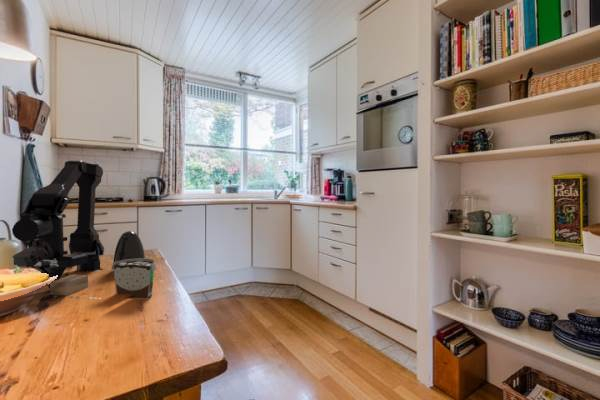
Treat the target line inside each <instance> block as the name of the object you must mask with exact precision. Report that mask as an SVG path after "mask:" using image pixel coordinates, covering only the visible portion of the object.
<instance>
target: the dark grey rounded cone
mask: <svg viewBox="0 0 600 400" xmlns="http://www.w3.org/2000/svg"><path fill="white" fill-rule="evenodd" d="M137 258H146V253H145V248H144V245H143V242H142V240H141V238H140V236H139V235H138V234H137V233H136V232H135V231H131V230H128V231H124V232H123V233H122V234H121V235H120V236H119V238H118V241H117V243H116V246H115V248H114V254H113V260H112V263H113V262H117V261H121V260H127V259H137Z"/></svg>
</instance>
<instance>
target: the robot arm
mask: <svg viewBox="0 0 600 400" xmlns="http://www.w3.org/2000/svg"><path fill="white" fill-rule="evenodd" d="M103 175H104V170H103V167H102V166H100V165H99V164H98V163H91V162H90V163H89V162H86V161H83V160H68V161H67V160H66V161H65V162H64V165H63V168H61V170H60V171H59V173H58V174H57V175H56V176H55V178H54V179H53V180H52V181H51V183H50V184H48V185H46V186H43V187H39V189H37V190H36V191H35V192H34V193H33V194H31V196H30V199H28V202H27V205H26V207H25V209H24V210H23V214H21V219H19V220H17V221H16V222H15V224H14V225H13V227H12V229H11V230H12V231H11V232H12V235H13V236H14V237H15V239H16V240H19V241H22V242H30V241H31V246H30V247H27V248H25V249H23V250H20V251H19V252H17V253H16V254H14V255H12V258H13V266H17V267H18V268H21V267H24V268H31V269H33V270H36V271H38V272H40V274H41V273H47V274H49V277H53V276H56V275H58V277H57V279H55V280H58V279H61V278H62V276H63V274H64V273H65V271H66V270H67V269H68V268H73V267H76V270H77V271H79V272H81V273H82V272H95V271H97V270H98V271H103V270H104V268H101V259H100V256H103V255H104V254H105V246H104V245H103V243H102V242H101V239H100V234H99V232H98V231H97V230H96V229H95V210H96V209H95V207H96V205H95V204H96V190H97V188H98V186H99V185H101V183H102V178H103ZM75 184H76V185H77V186H78V204H77V205H78V206H77V226H76V229H75V230H74V231H73V232H71V233H70V235H69V242H68V249H69V251H68V250H65V247H64V245H65V244H64V242H67V241H68V237H67V236H64V218H65V219H66V218H67V216H66V214H65V213H64V211H65V210H66V208H67V207H68V206H69V202H70V199H69V196H68V195H69V193H70V191H71V190H72V188H73V187H74V186H75ZM69 252H70V254H69ZM55 280H54V281H55ZM47 286H48V289H49V290H50V284H49V285H47Z"/></svg>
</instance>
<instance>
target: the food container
mask: <svg viewBox="0 0 600 400" xmlns="http://www.w3.org/2000/svg"><path fill="white" fill-rule="evenodd" d="M157 267H158V266H157V264H156V262H155V260H154V259H152V258H137V259H127V260H121V261H117V262H113V261H112V265H111V268H110V269H111V271H113V277H114V285H115V294H116V295H130V296H128V297H126V299H133V300H134V299H135V300H150V299H151V298H152V296H153V285H154V275H155V271H156V270H157Z"/></svg>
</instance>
